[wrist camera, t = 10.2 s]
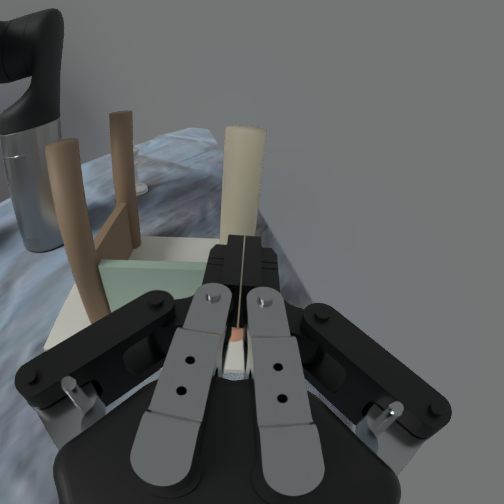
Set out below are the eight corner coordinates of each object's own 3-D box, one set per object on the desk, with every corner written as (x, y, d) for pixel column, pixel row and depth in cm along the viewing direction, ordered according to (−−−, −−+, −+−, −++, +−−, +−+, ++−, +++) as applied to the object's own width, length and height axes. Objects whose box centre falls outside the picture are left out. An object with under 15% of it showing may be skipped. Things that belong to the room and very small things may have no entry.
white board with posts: (103, 238, 38) (89, 113, 28) (248, 243, 40) (262, 111, 30) (45, 352, 22) (-27, 175, 12) (261, 373, 24) (301, 167, 14)
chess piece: (150, 185, 54) (148, 136, 49) (145, 196, 50) (142, 142, 45) (126, 186, 53) (123, 137, 48) (119, 196, 49) (115, 143, 44)
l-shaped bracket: (111, 323, 25) (70, 137, 15) (117, 304, 27) (86, 128, 17) (246, 328, 26) (269, 134, 17) (244, 308, 29) (264, 126, 19)
